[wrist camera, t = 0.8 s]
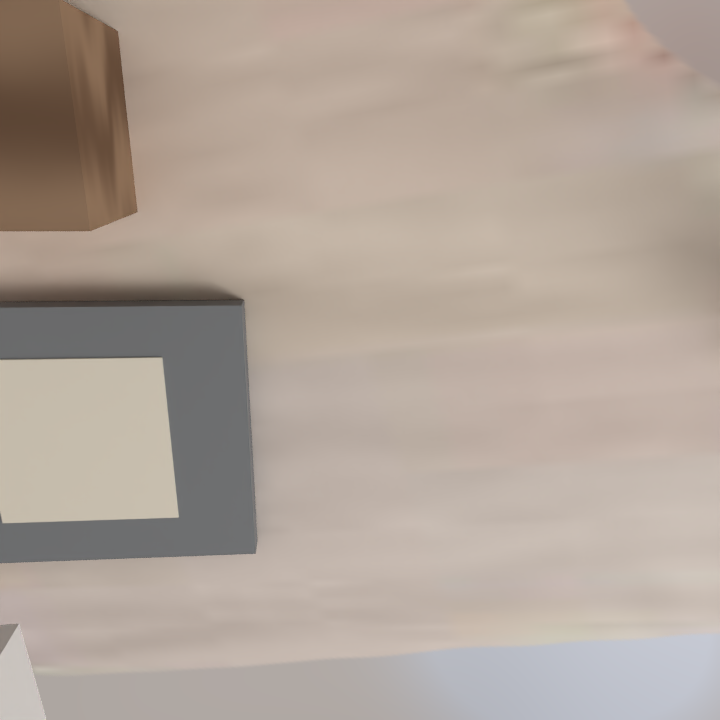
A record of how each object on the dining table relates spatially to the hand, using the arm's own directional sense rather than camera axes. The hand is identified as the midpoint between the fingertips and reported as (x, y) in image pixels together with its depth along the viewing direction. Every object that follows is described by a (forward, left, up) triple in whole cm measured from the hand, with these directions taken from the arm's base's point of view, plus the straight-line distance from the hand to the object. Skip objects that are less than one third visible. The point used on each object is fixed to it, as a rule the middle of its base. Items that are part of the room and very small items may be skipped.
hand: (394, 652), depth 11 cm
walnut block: (-9, -14, -23) cm, 29 cm away
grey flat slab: (+7, -14, -23) cm, 28 cm away
